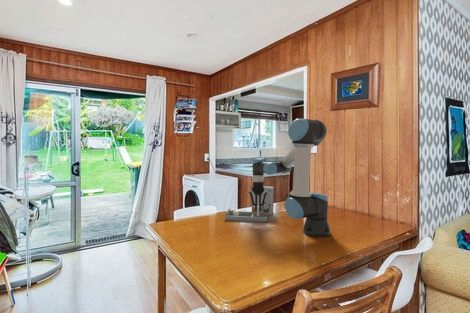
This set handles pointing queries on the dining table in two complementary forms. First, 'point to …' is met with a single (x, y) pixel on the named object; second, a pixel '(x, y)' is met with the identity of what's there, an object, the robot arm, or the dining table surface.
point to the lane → (246, 216)
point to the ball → (235, 213)
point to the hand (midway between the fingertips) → (258, 215)
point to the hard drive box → (268, 200)
